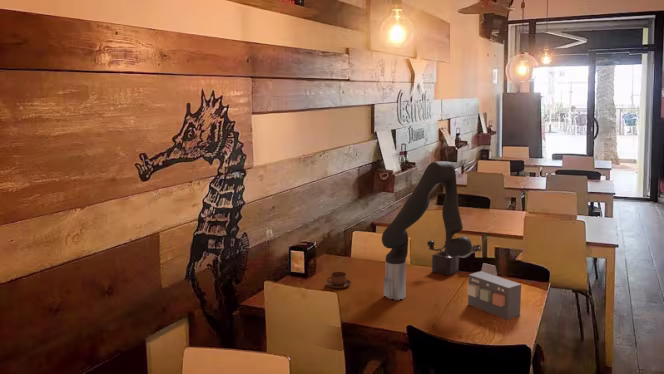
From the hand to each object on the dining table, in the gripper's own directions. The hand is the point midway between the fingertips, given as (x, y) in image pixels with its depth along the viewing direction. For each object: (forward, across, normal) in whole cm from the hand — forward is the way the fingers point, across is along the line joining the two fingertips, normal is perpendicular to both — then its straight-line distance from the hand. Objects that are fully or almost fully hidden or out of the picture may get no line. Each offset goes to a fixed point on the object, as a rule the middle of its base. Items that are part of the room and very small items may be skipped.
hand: (466, 250), depth 272 cm
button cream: (-4, -2, +20) cm, 20 cm away
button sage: (-8, -7, +22) cm, 25 cm away
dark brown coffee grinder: (+40, +17, +8) cm, 45 cm away
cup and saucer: (+8, +64, +11) cm, 66 cm away
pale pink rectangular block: (+30, -6, +16) cm, 34 cm away
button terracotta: (-12, -12, +25) cm, 30 cm away
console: (-3, -9, +27) cm, 29 cm away
